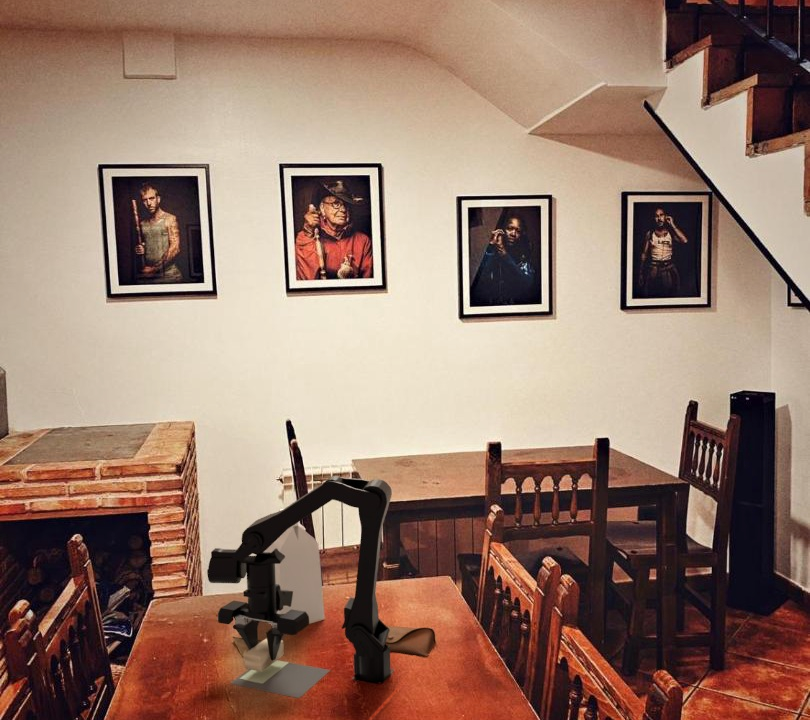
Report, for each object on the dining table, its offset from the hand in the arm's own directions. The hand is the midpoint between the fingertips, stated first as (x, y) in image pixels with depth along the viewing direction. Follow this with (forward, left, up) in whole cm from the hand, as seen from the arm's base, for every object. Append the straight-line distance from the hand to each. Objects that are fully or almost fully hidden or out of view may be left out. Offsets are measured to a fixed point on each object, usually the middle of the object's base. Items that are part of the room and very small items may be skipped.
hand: (264, 658), depth 156 cm
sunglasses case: (-19, -21, -4) cm, 28 cm away
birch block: (0, 0, -1) cm, 1 cm away
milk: (+11, -26, -4) cm, 29 cm away
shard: (+10, -7, -4) cm, 13 cm away
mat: (-4, +1, -3) cm, 6 cm away
